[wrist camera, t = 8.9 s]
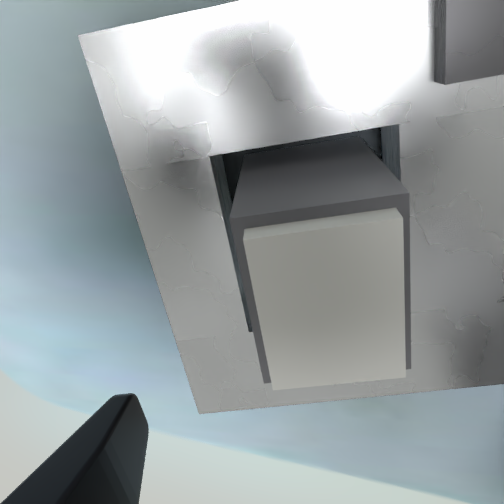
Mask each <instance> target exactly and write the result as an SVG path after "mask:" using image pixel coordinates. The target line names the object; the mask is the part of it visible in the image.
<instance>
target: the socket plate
mask: <svg viewBox="0 0 504 504" xmlns="http://www.w3.org/2000/svg"><path fill="white" fill-rule="evenodd" d="M78 38H79V41H80V44H81V47H82V50H83V53H84V57H85V60H86V63H87V66H88V69H89V72H90V75H91V78H92V82H93V85H94V88H95V91H96V94H97V97H98V100H99V103H100V106H101V110H102V113H103V116H104V119H105V122H106V125H107V128H108V131H109V135H110V138H111V141H112V144H113V147H114V150H115V153H116V156H117V159H118V163H119V166H120V169H121V172H122V175H123V178H124V181H125V184H126V188H127V191H128V194H129V197H130V200H131V203H132V206H133V209H134V213H135V216H136V219H137V222H138V225H139V228H140V231H141V234H142V237H143V241H144V244H145V247H146V250H147V253H148V256H149V259H150V262H151V266H152V269H153V272H154V275H155V278H156V281H157V284H158V287H159V290H160V294H161V297H162V300H163V303H164V306H165V309H166V312H167V315H168V319H169V322H170V325H171V328H172V331H173V334H174V337H175V340H176V343H177V347H178V350H179V353H180V356H181V359H182V362H183V365H184V368H185V372H186V375H187V378H188V381H189V384H190V387H191V390H192V393H193V396H194V400H195V403H196V406H197V409H198V412H199V414H205V413H215V412H225V411H235V410H245V409H255V408H265V407H275V406H285V405H296V404H306V403H316V402H326V401H336V400H346V399H356V398H366V397H376V396H386V395H397V394H407V393H417V392H427V391H437V390H447V389H457V388H467V387H477V386H487V385H498V384H504V0H241V1H237V2H232V3H227V4H222V5H218V6H213V7H208V8H204V9H199V10H194V11H189V12H185V13H180V14H175V15H171V16H166V17H161V18H157V19H152V20H147V21H142V22H138V23H133V24H128V25H124V26H119V27H114V28H109V29H105V30H100V31H95V32H91V33H86V34H81V35H78ZM378 127H381V141H382V162H383V163H384V164H385V165H386V167H387V168H388V169H389V170H390V171H391V172H392V173H393V174H394V176H395V177H396V178H397V179H398V180H399V181H400V182H401V184H402V185H403V186H404V187H405V188H406V189H407V190H408V191H409V193H410V287H411V369H406V377H405V378H395V379H385V380H375V381H364V382H354V383H344V384H334V385H323V386H313V387H303V388H293V389H282V390H273V388H272V383H265V384H264V382H263V377H262V372H261V368H260V363H259V358H258V353H257V349H256V344H255V339H254V334H253V329H252V325H251V320H250V315H249V310H248V306H247V301H246V296H245V291H244V287H243V282H242V277H241V272H240V267H239V263H238V258H237V253H236V248H235V244H234V239H233V234H232V229H231V224H230V220H229V218H230V214H231V209H232V201H231V196H230V192H229V187H228V182H227V178H226V173H225V168H224V163H223V159H222V154H226V153H232V152H238V151H243V150H249V149H255V148H261V147H267V146H273V145H279V144H284V143H290V142H296V141H302V140H308V139H314V138H320V137H325V136H331V135H337V134H343V133H349V132H355V131H361V130H366V129H372V128H378Z"/></svg>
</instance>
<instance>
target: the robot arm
mask: <svg viewBox="0 0 504 504" xmlns="http://www.w3.org/2000/svg"><path fill="white" fill-rule="evenodd" d="M147 441H148V423H147V420H146V417H145V415H144V412H143V410H142V407H141V405H140V402H139V400H138V398H137V396H136V395H135V394H132V393H128V394H119V395H114V396H113V397H111V398H110V399H109V400H108V401H107V402H106V403H105V404H104V405H103V406H102V407H101V408H100V409H99V410H98V411H97V412H95V413H94V414H93V415H92V416H91V417H90V418H89V419H88V420H87V421H86V422H85V423H84V424H83V425H82V426H81V427H80V428H79V429H78V430H77V431H76V432H75V433H74V434H73V435H71V436H70V437H69V438H68V439H67V440H66V441H65V442H64V443H63V444H62V445H61V446H60V447H59V448H58V449H57V450H56V451H55V452H54V453H53V454H52V455H51V456H50V457H49V458H47V459H46V460H45V461H44V462H43V463H42V464H41V465H40V466H39V467H38V468H37V469H36V470H35V471H34V472H33V473H32V474H31V475H30V476H29V477H28V478H27V479H26V480H25V481H23V482H22V483H21V484H20V485H19V486H18V487H17V488H16V489H15V490H14V491H13V492H12V493H11V494H10V495H9V496H8V497H7V498H6V499H5V500H4V501H3V502H2V503H0V504H139V497H140V490H141V483H142V476H143V469H144V462H145V455H146V448H147Z"/></svg>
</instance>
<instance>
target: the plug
mask: <svg viewBox="0 0 504 504" xmlns="http://www.w3.org/2000/svg"><path fill="white" fill-rule="evenodd" d="M229 220H230V224H231V229H232V234H233V239H234V244H235V248H236V253H237V258H238V263H239V267H240V272H241V277H242V282H243V287H244V291H245V296H246V301H247V306H248V310H249V315H250V320H251V325H252V329H253V334H254V339H255V344H256V349H257V353H258V358H259V363H260V368H261V372H262V377H263V382H264V384H265V383H272V388H273V390H282V389H293V388H303V387H313V386H323V385H334V384H344V383H354V382H364V381H375V380H385V379H395V378H405V377H406V369H411V287H410V193H409V191H408V190H407V189H406V188H405V187H404V186H403V185H402V184H401V182H400V181H399V180H398V179H397V178H396V177H395V176H394V174H393V173H392V172H391V171H390V170H389V169H388V168H387V167H386V165H385V164H384V163H383V162H382V161H381V160H380V159H379V157H378V156H377V155H376V154H375V153H374V152H373V151H372V150H371V148H370V147H369V146H368V145H367V144H366V143H365V142H364V140H363V139H362V138H361V137H360V136H356V137H350V138H343V139H337V140H331V141H325V142H319V143H312V144H306V145H300V146H294V147H288V148H281V149H275V150H269V151H263V152H257V153H250V154H244V158H243V163H242V167H241V171H240V175H239V180H238V184H237V188H236V192H235V197H234V201H233V205H232V209H231V214H230V218H229Z"/></svg>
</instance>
